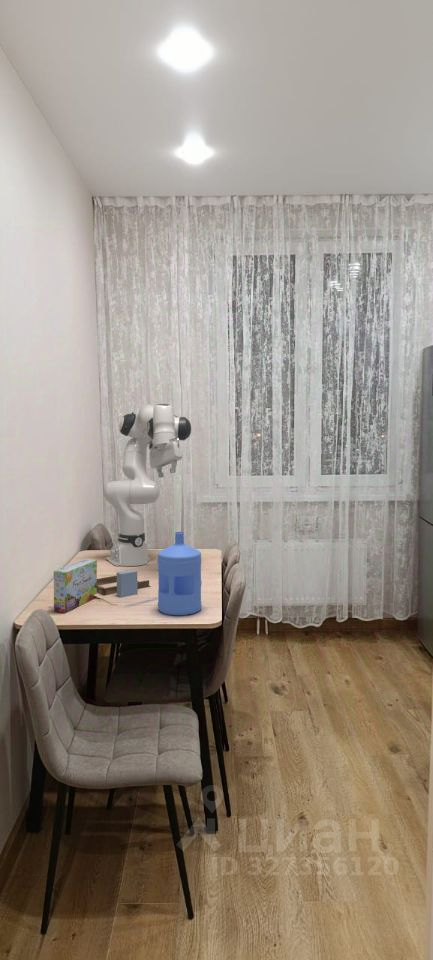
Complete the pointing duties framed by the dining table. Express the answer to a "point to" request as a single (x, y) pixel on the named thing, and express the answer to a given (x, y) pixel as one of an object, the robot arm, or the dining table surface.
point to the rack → (114, 589)
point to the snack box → (75, 585)
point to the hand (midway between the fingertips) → (166, 475)
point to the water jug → (179, 578)
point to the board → (127, 583)
